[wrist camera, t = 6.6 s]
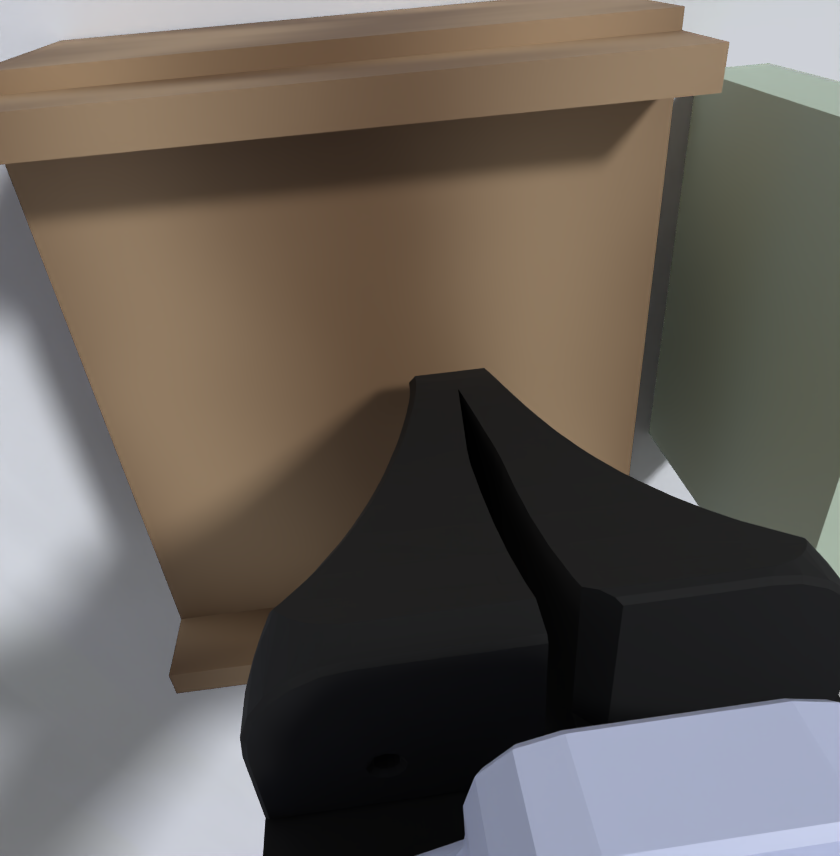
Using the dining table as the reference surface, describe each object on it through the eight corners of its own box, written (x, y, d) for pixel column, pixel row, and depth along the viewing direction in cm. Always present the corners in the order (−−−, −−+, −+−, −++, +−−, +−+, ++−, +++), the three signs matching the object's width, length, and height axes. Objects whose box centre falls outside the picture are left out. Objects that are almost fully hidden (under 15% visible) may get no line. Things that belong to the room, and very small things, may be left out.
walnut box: (214, 529, 20) (180, 701, 15) (60, 40, 13) (-83, 92, 9) (569, 485, 20) (637, 641, 16) (598, -9, 14) (733, 15, 9)
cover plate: (787, 634, 14) (860, 623, 14) (947, 151, 9) (1061, 139, 9) (648, 432, 20) (701, 425, 20) (696, 70, 15) (767, 62, 15)
